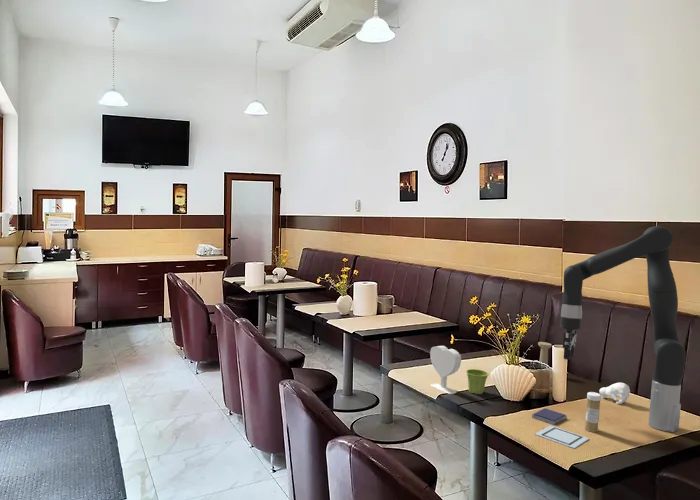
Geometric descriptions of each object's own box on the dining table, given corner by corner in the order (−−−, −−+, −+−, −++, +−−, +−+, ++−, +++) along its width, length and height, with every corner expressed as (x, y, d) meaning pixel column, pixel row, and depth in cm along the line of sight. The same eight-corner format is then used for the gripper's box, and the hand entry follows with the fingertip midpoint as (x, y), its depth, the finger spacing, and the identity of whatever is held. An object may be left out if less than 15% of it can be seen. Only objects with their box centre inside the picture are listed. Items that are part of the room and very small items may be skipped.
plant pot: (479, 387, 234) (480, 368, 234) (491, 395, 225) (492, 375, 225) (460, 389, 231) (462, 369, 231) (472, 396, 222) (473, 376, 222)
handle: (544, 376, 255) (547, 345, 254) (534, 372, 261) (536, 342, 259) (551, 374, 257) (553, 344, 256) (540, 371, 263) (542, 341, 262)
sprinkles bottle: (587, 426, 196) (589, 390, 195) (600, 429, 193) (602, 394, 192) (582, 429, 193) (585, 393, 192) (595, 433, 190) (598, 396, 189)
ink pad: (566, 418, 203) (567, 414, 202) (554, 425, 196) (554, 421, 196) (544, 411, 209) (544, 407, 209) (531, 417, 202) (532, 413, 202)
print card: (589, 439, 185) (589, 438, 184) (574, 448, 176) (574, 447, 176) (550, 425, 195) (550, 424, 195) (534, 434, 186) (534, 433, 186)
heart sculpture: (460, 393, 226) (463, 351, 225) (451, 395, 223) (454, 353, 222) (435, 382, 239) (437, 343, 237) (427, 384, 236) (429, 344, 235)
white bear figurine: (624, 385, 218) (595, 380, 227) (624, 406, 218) (596, 400, 227) (631, 383, 221) (603, 377, 231) (632, 403, 221) (603, 397, 231)
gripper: (578, 318, 199) (576, 362, 198) (584, 316, 211) (581, 357, 210) (557, 316, 202) (554, 358, 202) (564, 314, 215) (561, 354, 214)
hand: (568, 357), depth 206 cm, fingers open, 8 cm apart
